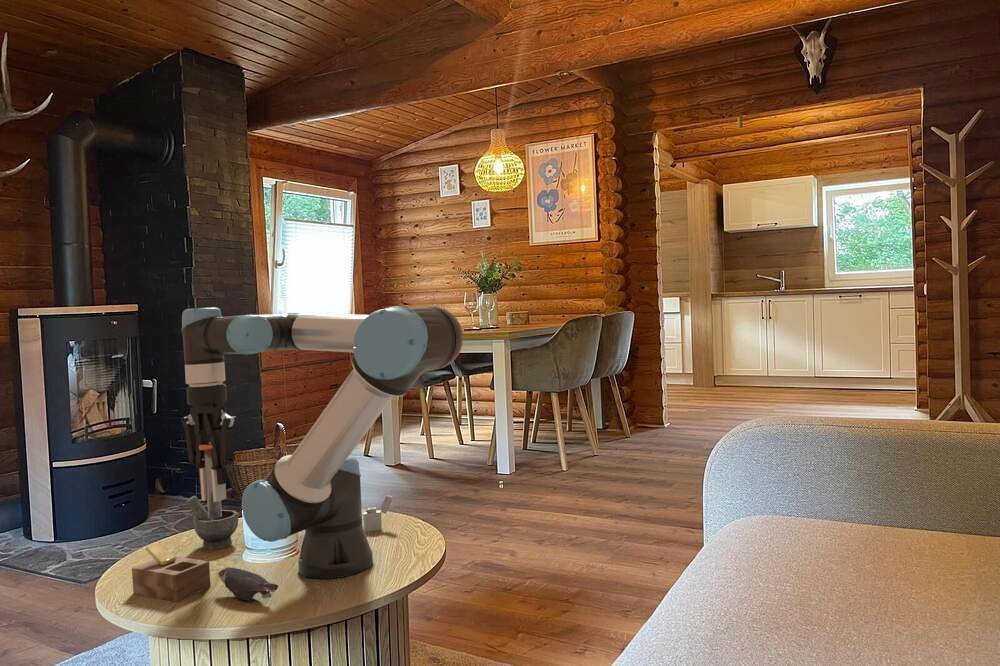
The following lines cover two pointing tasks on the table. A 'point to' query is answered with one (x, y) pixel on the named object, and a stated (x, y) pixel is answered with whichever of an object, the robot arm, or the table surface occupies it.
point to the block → (171, 578)
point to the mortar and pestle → (213, 525)
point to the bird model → (246, 583)
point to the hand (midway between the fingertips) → (214, 499)
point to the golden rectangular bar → (160, 554)
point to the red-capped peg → (210, 482)
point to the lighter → (375, 516)
